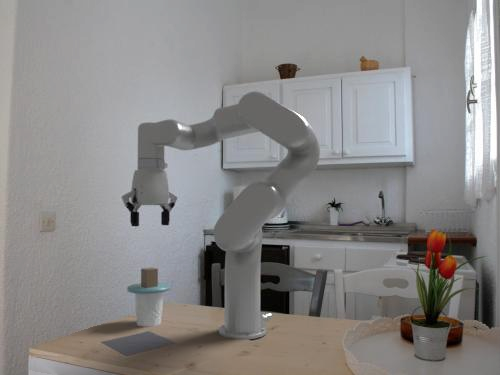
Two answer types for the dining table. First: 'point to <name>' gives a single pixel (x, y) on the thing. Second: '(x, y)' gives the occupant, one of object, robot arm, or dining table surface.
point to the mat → (138, 343)
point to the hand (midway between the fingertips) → (150, 225)
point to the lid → (149, 283)
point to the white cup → (148, 309)
